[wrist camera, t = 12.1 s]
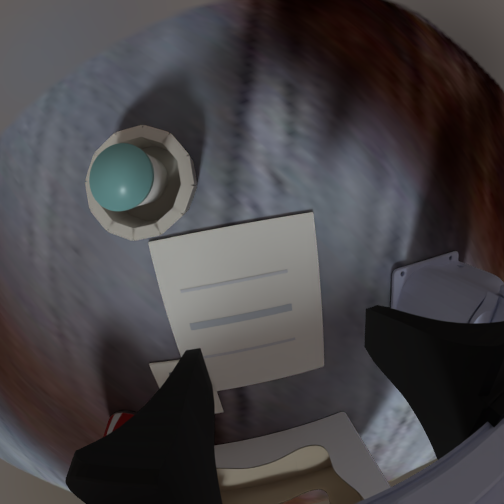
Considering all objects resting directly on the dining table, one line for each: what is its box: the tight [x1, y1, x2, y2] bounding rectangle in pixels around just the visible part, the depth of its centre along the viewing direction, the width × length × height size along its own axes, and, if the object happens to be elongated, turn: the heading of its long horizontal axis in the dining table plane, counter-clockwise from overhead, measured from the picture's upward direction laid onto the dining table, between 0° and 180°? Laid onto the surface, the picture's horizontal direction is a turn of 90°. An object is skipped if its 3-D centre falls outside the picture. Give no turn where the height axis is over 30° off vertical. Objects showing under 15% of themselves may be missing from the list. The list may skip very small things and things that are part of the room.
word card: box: [149, 359, 224, 414], centre depth 22 cm, size 5×7×1 cm
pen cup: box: [85, 125, 197, 241], centre depth 16 cm, size 6×6×4 cm
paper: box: [148, 212, 324, 392], centre depth 21 cm, size 12×14×1 cm
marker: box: [89, 143, 168, 211], centre depth 14 cm, size 3×3×7 cm
